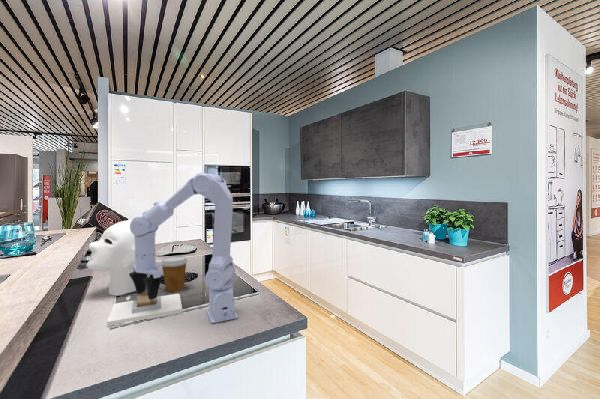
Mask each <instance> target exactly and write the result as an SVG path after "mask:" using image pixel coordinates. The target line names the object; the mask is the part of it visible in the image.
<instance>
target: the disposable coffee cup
mask: <svg viewBox="0 0 600 399" xmlns="http://www.w3.org/2000/svg"><path fill="white" fill-rule="evenodd" d="M187 262H188V259H187V257H186V256H184V255H172V256H167V257H163V258H162V259H161V262H160V266H161V267H162V268H161V269H162V273H163V274H162V275H163V276H164V278H163V280H164V285H165V290H166V292H168V293H169V292H170V293H175V292H180V291H182V290H184V288H185V279H186V271H187V270H186V269H187Z"/></svg>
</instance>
